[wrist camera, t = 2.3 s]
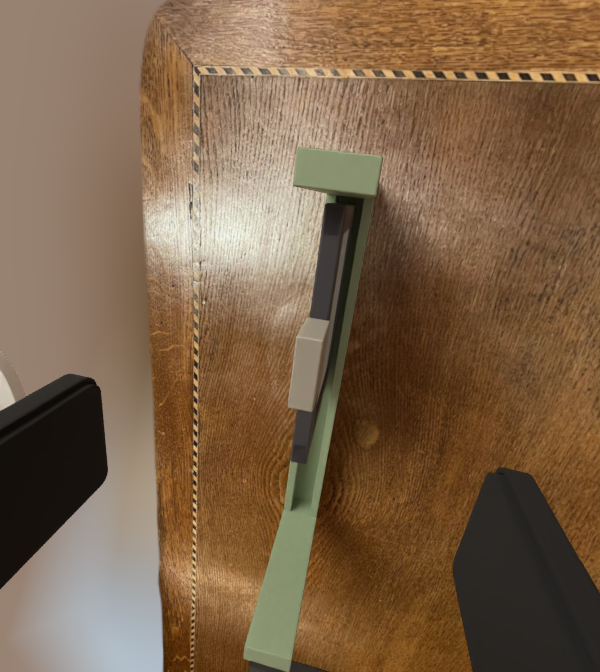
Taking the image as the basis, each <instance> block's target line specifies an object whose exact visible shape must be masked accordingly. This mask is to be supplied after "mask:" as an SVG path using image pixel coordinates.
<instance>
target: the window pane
mask: <svg viewBox="0 0 600 672" xmlns="http://www.w3.org/2000/svg"><path fill="white" fill-rule="evenodd" d="M355 211H356V204H349V203H326V204H325V208H324V216H323V223H322V230H321V238H320V246H319V253H318V260H317V268H316V275H315V282H314V290H313V297H312V304H311V312H310V318H307V319H306V321H305V323H304V324H303V326H302V328H301V330H300V332H299V333H298V335H297V337H296V344H295V352H294V360H293V368H292V376H291V384H290V392H289V400H288V407H289V408H293V409H297V414H296V422H295V429H294V436H293V443H292V451H291V458H290V460H291V461H292V462H296V463H300V464H306V462H307V458H308V454H309V450H310V446H311V442H312V438H313V434H314V430H315V426H316V422H317V418H318V414H319V410H320V407H321V403H322V399H323V395H324V391H325V387H326V383H327V379H328V374H329V368H330V362H331V356H332V350H333V344H334V338H335V332H336V326H337V320H338V314H339V308H340V302H341V296H342V290H343V284H344V278H345V272H346V266H347V260H348V254H349V248H350V242H351V236H352V229H353V223H354V217H355Z"/></svg>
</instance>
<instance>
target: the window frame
mask: <svg viewBox="0 0 600 672" xmlns="http://www.w3.org/2000/svg"><path fill="white" fill-rule="evenodd" d="M382 162H383V157H382V156H378V155H369V154H360V153H351V152H342V151H333V150H324V149H315V148H306V147H297V152H296V161H295V171H294V181H293V185H294V186H296V187H300V188H305V189H309V190H314V191H318V192H323V193H327V197H326V203H349V204H356V211H355V217H354V223H353V229H352V236H351V242H350V248H349V254H348V260H347V266H346V272H345V278H344V284H343V290H342V296H341V302H340V308H339V314H338V320H337V326H336V332H335V338H334V344H333V350H332V356H331V362H330V368H329V374H328V379H327V383H326V387H325V391H324V395H323V399H322V403H321V407H320V410H319V414H318V418H317V422H316V426H315V430H314V434H313V438H312V442H311V446H310V450H309V454H308V458H307V462H306V464H300V463H296V462H292V461H291V460H290V468H289V475H288V482H287V490H286V497H285V504H284V511H283V514H282V518H281V521H280V525H279V528H278V532H277V535H276V539H275V542H274V545H273V549H272V552H271V556H270V559H269V563H268V566H267V570H266V573H265V577H264V580H263V584H262V587H261V591H260V594H259V598H258V601H257V605H256V608H255V612H254V615H253V619H252V622H251V626H250V629H249V633H248V636H247V640H246V643H245V648H244V659H246V660H250V661H253V662H256V663H260V664H263V665H266V666H270V667H273V668H276V669H280V670H283V671H286V672H289V671H290V666H291V661H292V655H293V650H294V644H295V638H296V632H297V627H298V621H299V615H300V610H301V604H302V598H303V592H304V587H305V581H306V575H307V570H308V564H309V558H310V552H311V547H312V541H313V535H314V530H315V524H316V518H317V513H318V507H319V502H320V496H321V491H322V485H323V480H324V474H325V468H326V463H327V457H328V452H329V446H330V441H331V435H332V430H333V424H334V419H335V413H336V408H337V402H338V397H339V391H340V386H341V380H342V375H343V369H344V364H345V358H346V352H347V347H348V341H349V336H350V330H351V325H352V319H353V314H354V308H355V303H356V297H357V292H358V286H359V281H360V275H361V270H362V264H363V259H364V253H365V248H366V242H367V236H368V231H369V225H370V220H371V214H372V209H373V203H374V198H375V196H376V195H377V189H378V184H379V178H380V173H381V167H382Z"/></svg>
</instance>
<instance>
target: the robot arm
mask: <svg viewBox="0 0 600 672" xmlns="http://www.w3.org/2000/svg"><path fill="white" fill-rule="evenodd" d="M107 472H108V466H107V455H106V444H105V432H104V421H103V410H102V400H101V390H100V388H99V386H97V385H96V382H95V380H94V379H92V378H89V377H84V376H79V375H74V374H67V375H64V376H62V377H61V378H59V379H57V380H55V381H53V382H52V383H50V384H48V385H46V386H44V387H42V388H41V389H39V390H37V391H35V392H33V393H32V394H30V395H29V396H26V397H24V398H23V399H21V400H19V401H17V402H15V403H14V404H12V405H10V406H8V407H6V408H5V409H3V410H1V411H0V589H1V588H2V587H3V586H4V585H5V584H6V583H7V582H8V581H9V580H10V579H11V578H12V577H13V576H14V575H15V573H17V571H19V569H20V568H21V567H22V566H23V565H24V564H25V563H26V562H27V561H28V560H29V559H30V558H31V557H32V556H33V555H34V554H35V553H36V552H37V551H38V550H39V549H40V548H41V546H43V545H44V544H45V543H46V542H47V541H48V540H49V538H51V537H52V535H53V534H54V533H55V532H56V531H57V530H58V529H59V528H60V527H61V526H62V525H63V524H64V523H65V522H66V521H67V520H68V519H69V518H70V517H71V516H72V515H73V514H74V513H75V512H76V511H77V510H78V509H79V508H80V507H81V506H82V505H83V504H84V503H85V502H86V500H87V499H88V498H89V497H90V496H91V495H92V494H93V493H94V492H95V491H96V490H97V489H98V488H99V487H100V486H101V485H102V484H103V482H104V481H105V479H106V476H107ZM453 577H454V582H455V587H456V592H457V597H458V602H459V607H460V612H461V616H462V621H463V626H464V631H465V636H466V641H467V646H468V651H469V655H470V660H471V665H472V670H473V672H600V593H599V591H598V589H597V588H596V586H595V584H594V582H593V581H592V579H591V577H590V575H589V574H588V572H587V570H586V568H585V567H584V565H583V563H582V562H581V560H580V559H579V558H578V556H577V554H576V552H575V550H574V549H573V547H572V545H571V543H570V542H569V540H568V538H567V536H566V535H565V533H564V531H563V529H562V528H561V526H560V524H559V522H558V521H557V519H556V517H555V515H554V514H553V512H552V510H551V508H550V506H549V505H548V503H547V501H546V499H545V498H544V496H543V494H542V492H541V491H540V489H539V487H538V485H537V484H536V482H535V480H534V478H533V477H532V476H531V475H530V474H528V473H524V472H519V471H515V470H510V469H506V468H498V469H497V470H496V472H495V473H492V472H489V473H488V474H487V475H486V477H485V480H484V482H483V485H482V488H481V490H480V493H479V495H478V498H477V501H476V503H475V506H474V508H473V511H472V514H471V516H470V519H469V521H468V524H467V527H466V529H465V532H464V534H463V537H462V539H461V542H460V545H459V547H458V550H457V552H456V555H455V558H454V562H453Z"/></svg>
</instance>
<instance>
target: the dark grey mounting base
mask: <svg viewBox="0 0 600 672" xmlns="http://www.w3.org/2000/svg"><path fill="white" fill-rule="evenodd" d="M248 672H286V671H283V670H280V669H276V668H273V667H270V666H266V665H263V664H260V663H256V662H253V661H250V665H249V671H248ZM289 672H327V671H324V670H320V669H317V668H313V667H310V666H307V665H303V664H300V663H296V662H293V661H291V666H290V671H289Z"/></svg>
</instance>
